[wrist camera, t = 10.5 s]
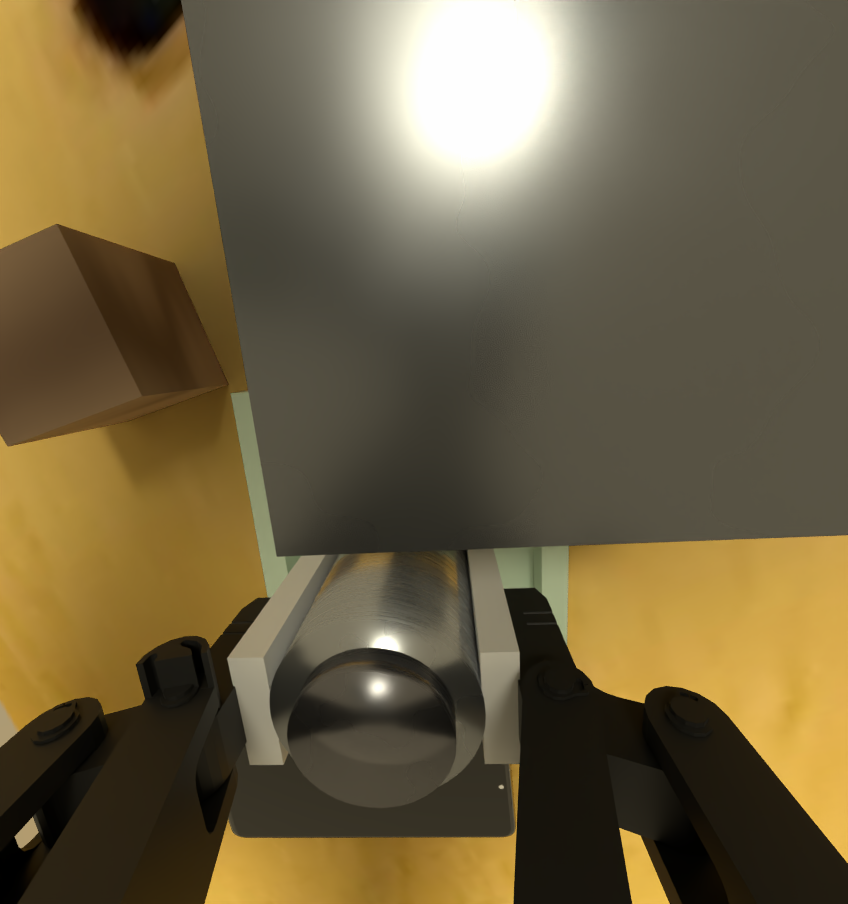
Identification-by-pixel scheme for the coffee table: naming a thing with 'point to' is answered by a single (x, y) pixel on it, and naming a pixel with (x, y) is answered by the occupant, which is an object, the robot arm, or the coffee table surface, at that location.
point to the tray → (514, 564)
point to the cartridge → (383, 679)
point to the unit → (535, 266)
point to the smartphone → (322, 816)
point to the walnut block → (93, 336)
